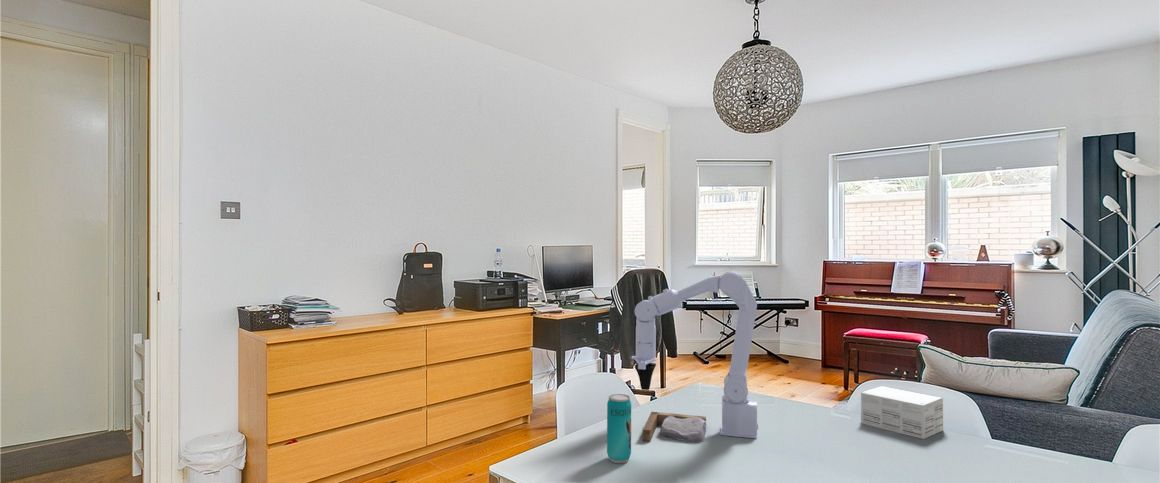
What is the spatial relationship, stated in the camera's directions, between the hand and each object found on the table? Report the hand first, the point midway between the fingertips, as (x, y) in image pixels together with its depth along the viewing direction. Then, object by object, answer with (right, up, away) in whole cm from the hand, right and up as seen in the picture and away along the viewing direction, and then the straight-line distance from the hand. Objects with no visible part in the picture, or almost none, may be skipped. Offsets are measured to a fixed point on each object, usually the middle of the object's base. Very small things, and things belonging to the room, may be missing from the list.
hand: (645, 389), depth 156 cm
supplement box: (+73, -11, -1) cm, 74 cm away
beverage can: (-10, -10, -26) cm, 30 cm away
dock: (+7, -10, -8) cm, 15 cm away
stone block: (+9, -10, -9) cm, 17 cm away
